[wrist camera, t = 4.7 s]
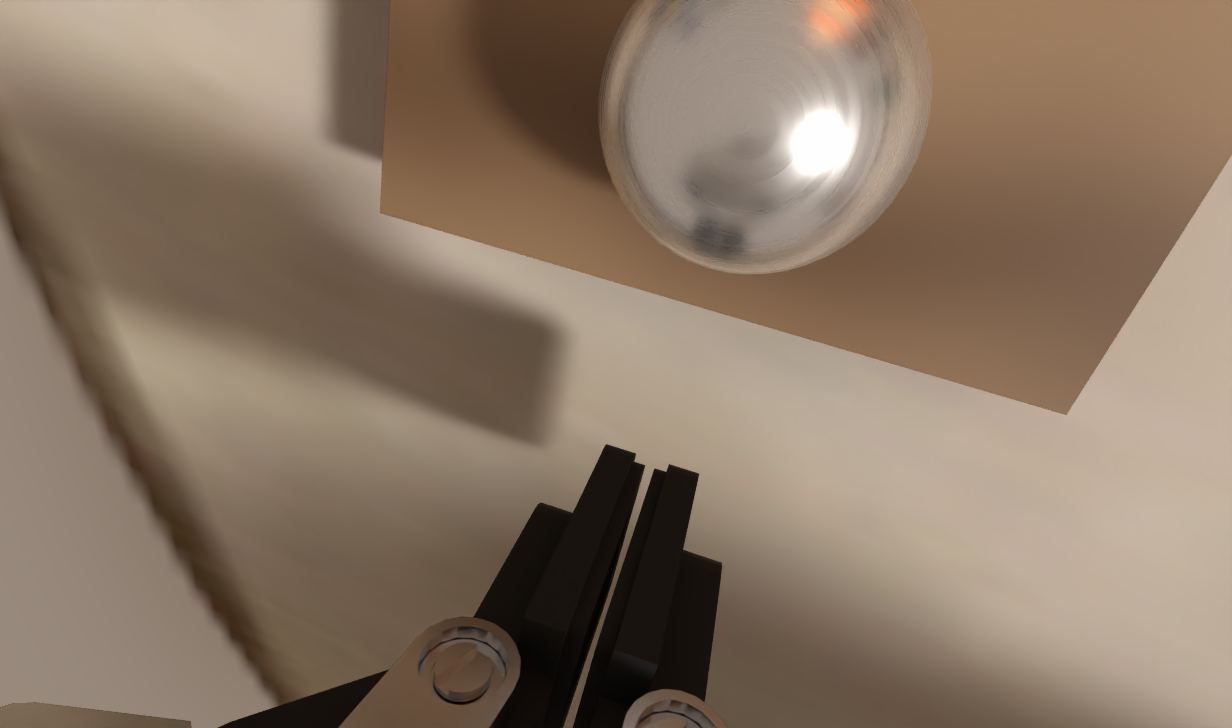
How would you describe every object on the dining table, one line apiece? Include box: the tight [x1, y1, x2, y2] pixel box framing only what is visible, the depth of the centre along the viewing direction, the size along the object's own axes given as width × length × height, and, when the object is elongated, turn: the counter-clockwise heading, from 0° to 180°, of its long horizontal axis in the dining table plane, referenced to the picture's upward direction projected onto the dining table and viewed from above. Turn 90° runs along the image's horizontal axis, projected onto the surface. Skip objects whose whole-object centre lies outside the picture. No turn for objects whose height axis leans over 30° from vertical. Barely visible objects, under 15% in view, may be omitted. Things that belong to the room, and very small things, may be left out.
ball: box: [598, 0, 933, 274], centre depth 7 cm, size 4×4×4 cm
